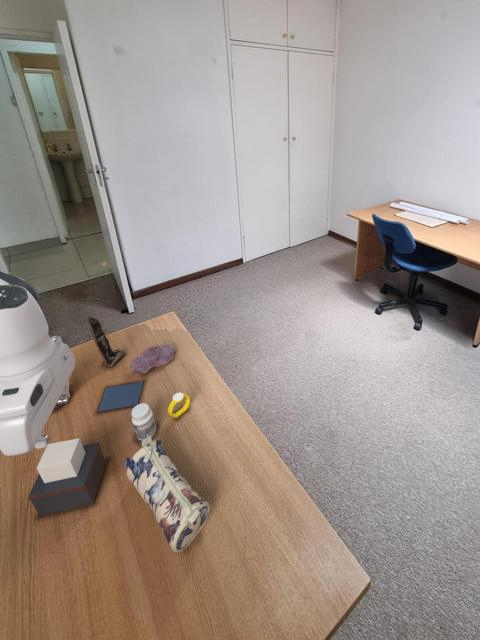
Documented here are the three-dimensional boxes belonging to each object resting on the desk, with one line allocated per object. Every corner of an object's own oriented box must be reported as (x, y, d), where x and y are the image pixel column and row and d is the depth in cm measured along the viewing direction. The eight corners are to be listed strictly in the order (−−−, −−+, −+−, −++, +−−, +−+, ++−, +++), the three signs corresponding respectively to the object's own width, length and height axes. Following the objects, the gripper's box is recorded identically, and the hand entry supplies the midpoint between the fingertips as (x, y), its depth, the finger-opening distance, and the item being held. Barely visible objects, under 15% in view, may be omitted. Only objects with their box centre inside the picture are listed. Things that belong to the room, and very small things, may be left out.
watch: (174, 423, 86) (170, 407, 83) (168, 417, 87) (164, 402, 85) (193, 407, 90) (190, 392, 88) (187, 402, 92) (184, 386, 89)
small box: (44, 483, 66) (36, 468, 64) (55, 458, 71) (47, 444, 69) (77, 476, 68) (70, 461, 65) (85, 452, 72) (79, 437, 70)
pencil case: (127, 482, 73) (117, 455, 69) (163, 453, 79) (156, 426, 75) (179, 568, 60) (171, 540, 56) (218, 526, 66) (212, 498, 62)
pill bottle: (136, 427, 85) (129, 405, 81) (156, 421, 86) (150, 398, 83) (136, 444, 81) (129, 421, 77) (156, 437, 82) (150, 414, 79)
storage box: (39, 516, 67) (27, 497, 64) (58, 470, 75) (48, 451, 72) (93, 504, 69) (84, 484, 66) (106, 460, 77) (99, 441, 74)
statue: (127, 354, 108) (112, 305, 100) (111, 370, 102) (94, 319, 93) (116, 352, 109) (101, 303, 100) (99, 368, 103) (82, 317, 94)
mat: (98, 412, 89) (97, 411, 89) (106, 388, 96) (106, 387, 96) (137, 405, 91) (137, 404, 91) (143, 382, 98) (143, 381, 98)
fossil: (126, 370, 102) (123, 358, 100) (168, 346, 112) (165, 333, 110) (139, 384, 97) (136, 371, 95) (181, 356, 107) (179, 344, 105)
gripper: (39, 332, 67) (59, 381, 72) (-28, 424, 49) (6, 479, 54) (73, 328, 68) (90, 376, 74) (21, 415, 50) (49, 470, 56)
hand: (54, 421), depth 64 cm, fingers open, 8 cm apart
